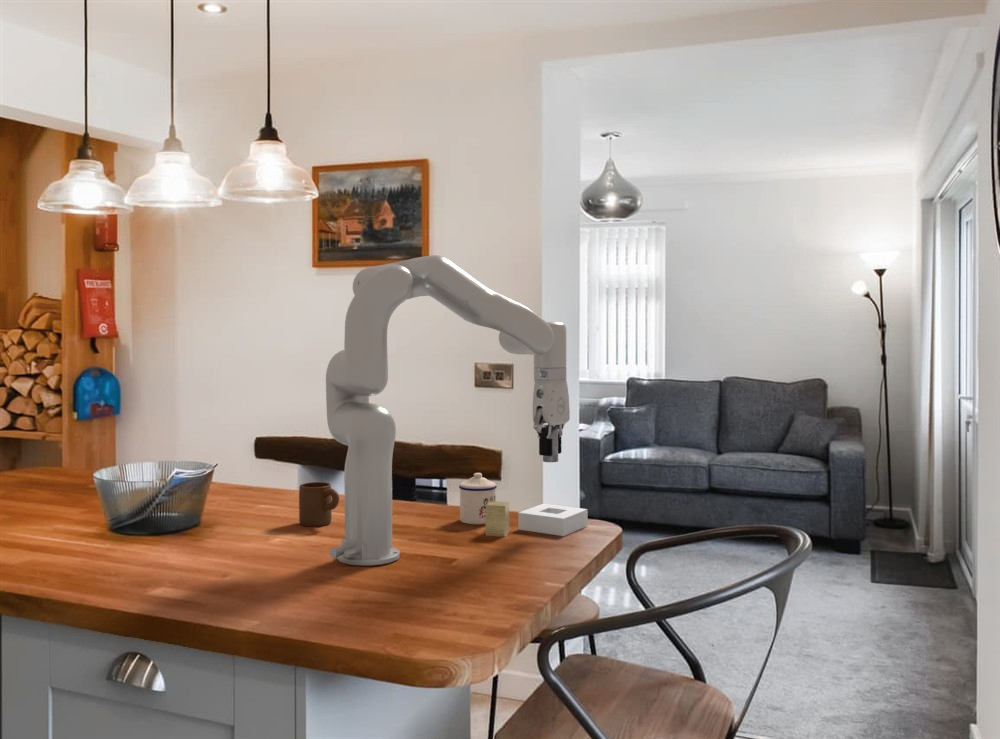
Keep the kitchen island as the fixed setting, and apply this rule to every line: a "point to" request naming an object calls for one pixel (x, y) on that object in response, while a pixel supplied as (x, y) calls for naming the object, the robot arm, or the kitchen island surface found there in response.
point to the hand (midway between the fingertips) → (550, 453)
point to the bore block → (552, 519)
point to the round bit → (553, 445)
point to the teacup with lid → (476, 499)
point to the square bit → (497, 518)
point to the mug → (316, 503)
